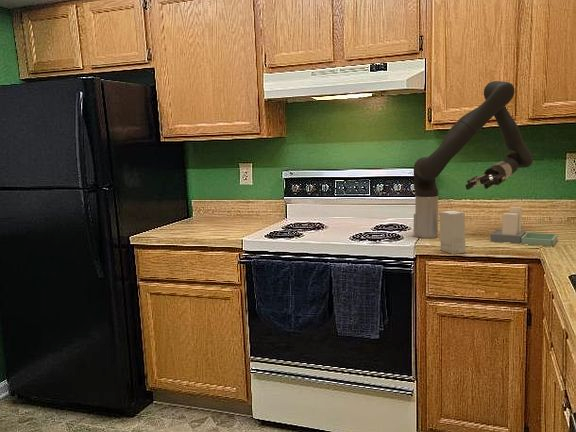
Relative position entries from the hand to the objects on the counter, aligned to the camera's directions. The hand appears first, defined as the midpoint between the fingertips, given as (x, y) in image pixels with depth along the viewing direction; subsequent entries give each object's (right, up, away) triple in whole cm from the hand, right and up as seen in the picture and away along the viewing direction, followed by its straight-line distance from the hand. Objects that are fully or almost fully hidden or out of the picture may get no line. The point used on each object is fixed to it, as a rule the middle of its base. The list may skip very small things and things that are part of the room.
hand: (475, 187), depth 208 cm
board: (+13, -21, 0) cm, 25 cm away
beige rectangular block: (+16, -18, 0) cm, 24 cm away
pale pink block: (+12, -19, -3) cm, 22 cm away
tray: (+22, -22, -7) cm, 32 cm away
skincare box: (-15, -25, -16) cm, 33 cm away
